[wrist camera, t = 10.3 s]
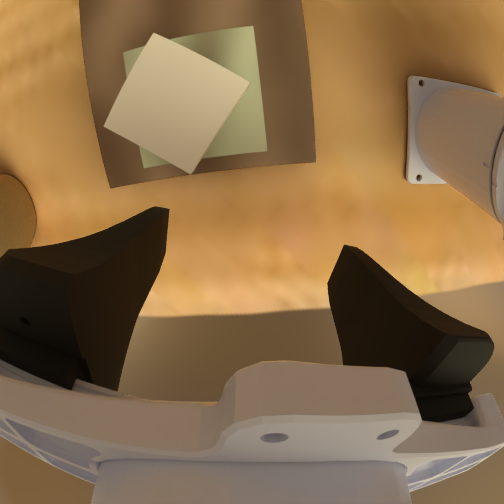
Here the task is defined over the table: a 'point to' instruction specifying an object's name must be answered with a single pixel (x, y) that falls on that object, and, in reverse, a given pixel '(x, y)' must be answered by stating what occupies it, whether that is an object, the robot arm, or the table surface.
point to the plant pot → (15, 215)
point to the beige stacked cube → (175, 102)
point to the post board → (221, 52)
